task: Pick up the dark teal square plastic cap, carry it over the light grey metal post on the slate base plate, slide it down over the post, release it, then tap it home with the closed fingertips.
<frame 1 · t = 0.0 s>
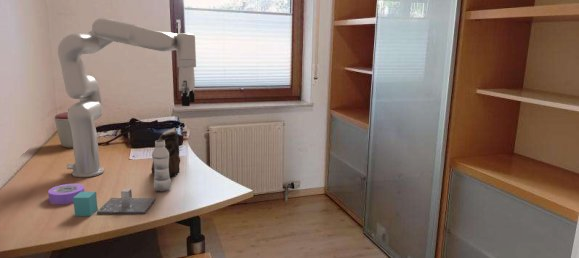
hand: (188, 104, 171), 31 cm above the table, fingers open, 9 cm apart
plastic bottle: (162, 190, 158), on the table
post: (127, 206, 142), on the table
masking tape: (67, 199, 149), on the table
cap: (86, 212, 137), on the table
owl: (166, 173, 177), on the table
canister: (75, 145, 220), on the table
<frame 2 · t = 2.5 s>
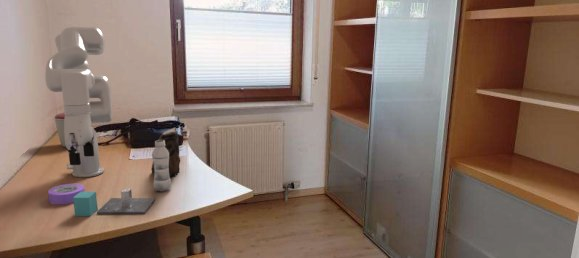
hand: (82, 160, 133), 19 cm above the table, fingers open, 9 cm apart
nothing on the table moved.
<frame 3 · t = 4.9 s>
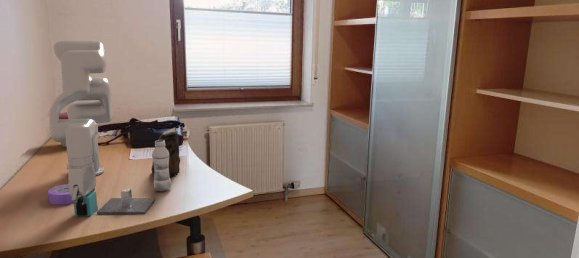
hand: (86, 210, 136), 1 cm above the table, fingers closed on cap, 5 cm apart
cap: (86, 212, 137), on the table, touching gripper
everything else where it was.
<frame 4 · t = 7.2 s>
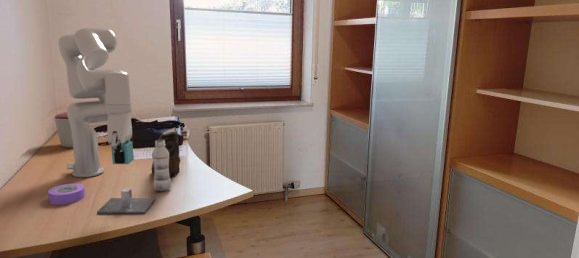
hand: (123, 160, 138), 17 cm above the table, fingers closed on cap, 5 cm apart
cap: (123, 161, 138), point 17 cm above the table, touching gripper
everything else where it was.
when the fingers open (3 cm above the table, at t = 9.9 s): cap drops 1 cm, resting on post.
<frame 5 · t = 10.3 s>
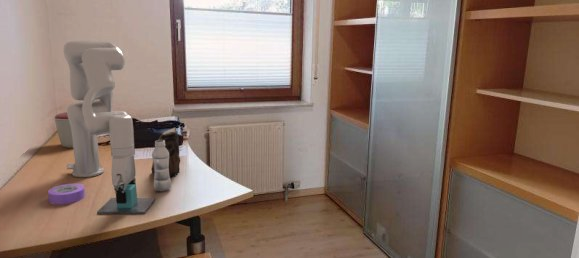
hand: (126, 197, 141), 3 cm above the table, fingers open, 9 cm apart
cap: (127, 204, 142), point 1 cm above the table, touching post
everything else where it was.
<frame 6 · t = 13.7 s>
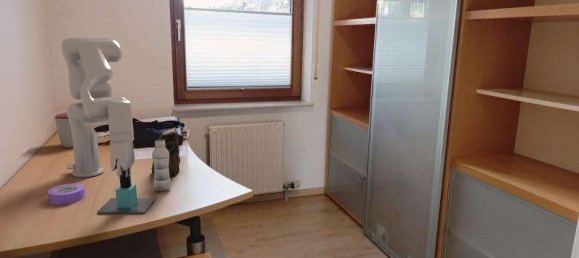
hand: (125, 186, 140), 8 cm above the table, fingers closed
nothing on the table moved.
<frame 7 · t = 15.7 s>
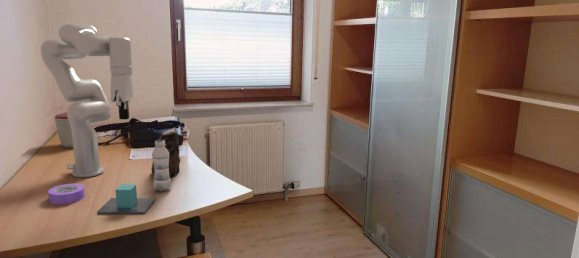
hand: (124, 118, 154), 28 cm above the table, fingers closed
nothing on the table moved.
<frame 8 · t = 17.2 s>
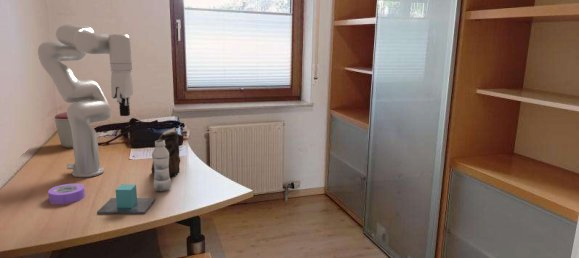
hand: (125, 115, 155), 29 cm above the table, fingers closed
nothing on the table moved.
at the end: cap 0.0 cm from the post (horizontally); cap point 0.8 cm above the table; the gripper is holding nothing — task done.
